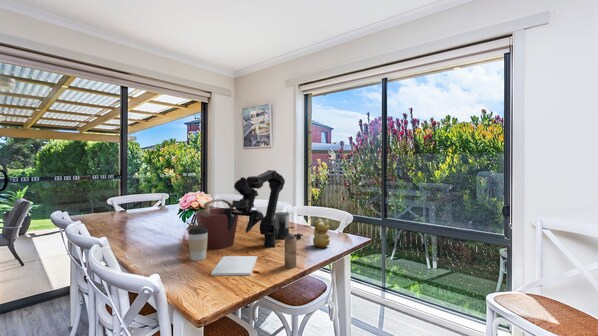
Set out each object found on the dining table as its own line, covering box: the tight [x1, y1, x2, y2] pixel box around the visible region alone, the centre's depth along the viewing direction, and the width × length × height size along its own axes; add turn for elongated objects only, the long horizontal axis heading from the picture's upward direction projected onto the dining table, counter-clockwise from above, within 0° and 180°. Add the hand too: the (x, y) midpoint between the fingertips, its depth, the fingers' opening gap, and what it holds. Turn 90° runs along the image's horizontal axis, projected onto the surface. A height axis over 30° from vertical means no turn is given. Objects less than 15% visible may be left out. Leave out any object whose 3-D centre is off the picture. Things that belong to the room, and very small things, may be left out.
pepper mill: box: [284, 233, 297, 269], centre depth 124 cm, size 5×5×14 cm
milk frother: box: [274, 211, 304, 240], centre depth 170 cm, size 14×16×15 cm
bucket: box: [195, 198, 239, 250], centre depth 155 cm, size 24×22×25 cm
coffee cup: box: [187, 225, 208, 262], centre depth 133 cm, size 9×9×15 cm
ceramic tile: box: [210, 255, 258, 276], centre depth 124 cm, size 20×16×1 cm
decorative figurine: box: [312, 218, 331, 249], centre depth 152 cm, size 10×8×15 cm
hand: (237, 231), depth 125 cm, fingers open, 9 cm apart
